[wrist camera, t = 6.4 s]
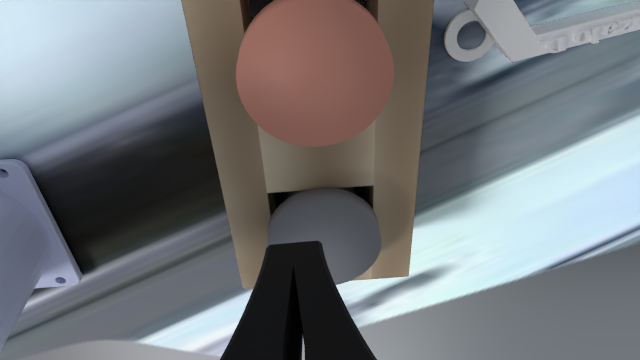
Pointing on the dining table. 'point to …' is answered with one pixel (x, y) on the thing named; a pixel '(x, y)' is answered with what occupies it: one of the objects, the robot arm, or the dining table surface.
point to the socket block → (314, 162)
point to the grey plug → (330, 228)
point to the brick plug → (314, 70)
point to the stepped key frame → (536, 29)
